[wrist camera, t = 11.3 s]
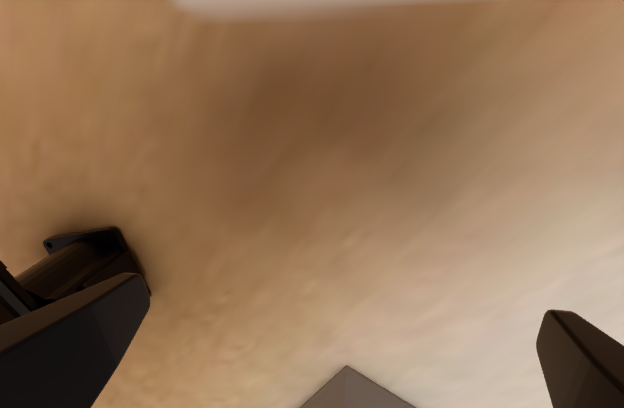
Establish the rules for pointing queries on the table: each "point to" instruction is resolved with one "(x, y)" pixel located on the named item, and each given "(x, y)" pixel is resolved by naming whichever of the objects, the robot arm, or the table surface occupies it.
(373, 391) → the grey flat square block
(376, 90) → the table surface
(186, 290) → the table surface
